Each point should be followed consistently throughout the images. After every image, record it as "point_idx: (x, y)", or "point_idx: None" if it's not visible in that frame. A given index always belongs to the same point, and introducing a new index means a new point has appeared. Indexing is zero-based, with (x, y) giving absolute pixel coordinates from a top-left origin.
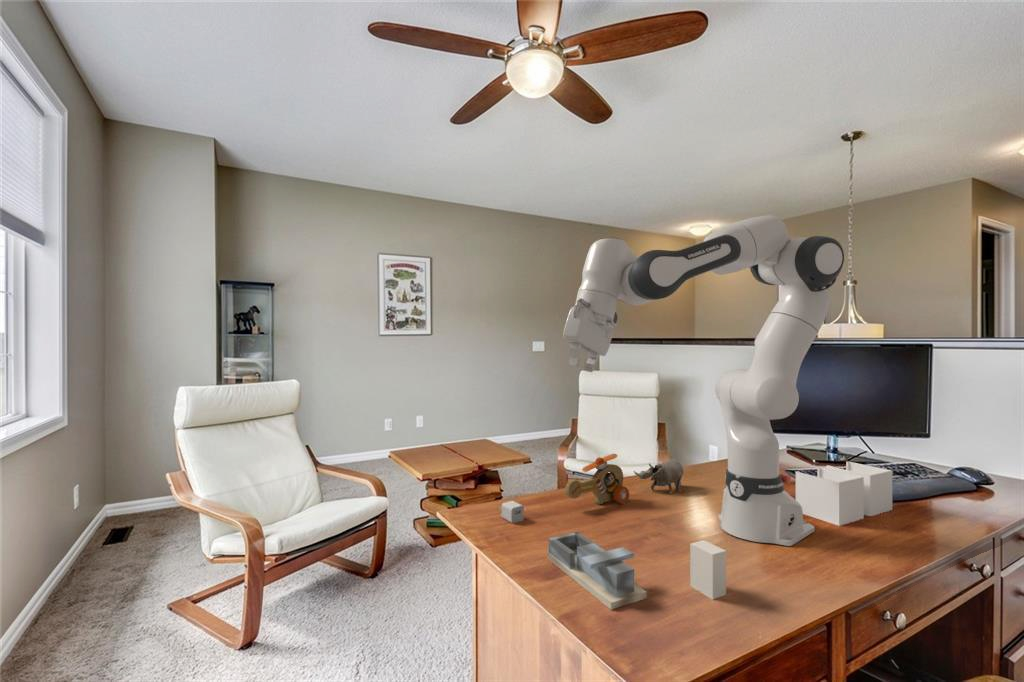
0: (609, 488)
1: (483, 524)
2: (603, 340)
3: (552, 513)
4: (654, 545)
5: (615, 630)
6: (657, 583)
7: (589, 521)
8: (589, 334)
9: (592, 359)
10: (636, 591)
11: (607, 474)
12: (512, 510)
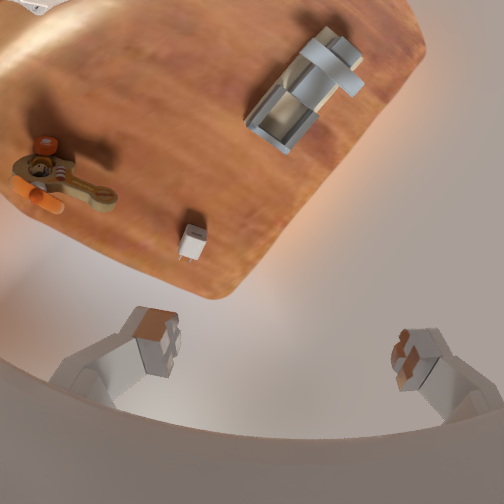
0: (50, 163)
1: (228, 255)
2: (11, 486)
3: (142, 203)
4: (173, 40)
5: (387, 54)
6: (285, 18)
7: (138, 147)
8: (500, 493)
9: (109, 376)
10: (331, 36)
11: (38, 175)
12: (205, 239)
